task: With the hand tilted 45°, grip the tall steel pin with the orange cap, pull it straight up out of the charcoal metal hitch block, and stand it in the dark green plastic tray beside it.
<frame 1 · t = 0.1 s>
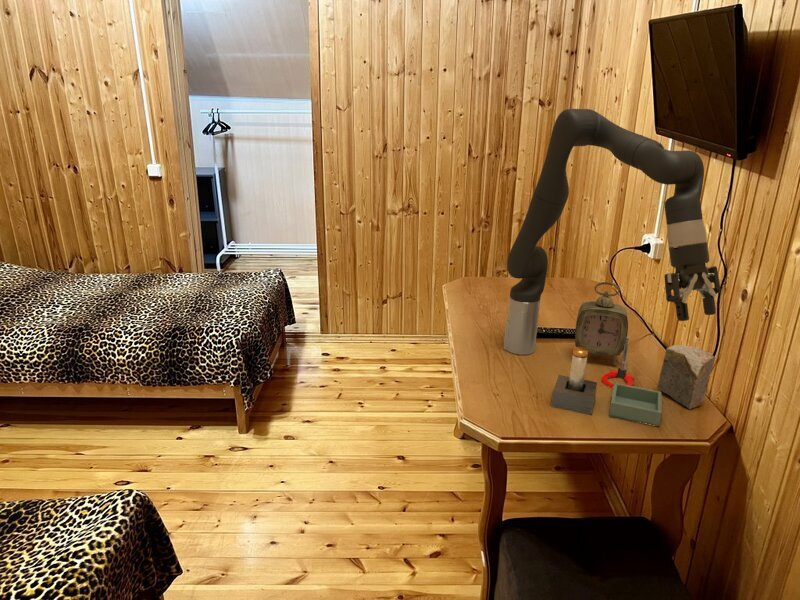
hand: (697, 317, 124), 31 cm above the table, tool tilted 20°, fingers open, 8 cm apart
geological specimen: (679, 399, 154), on the table
tray: (634, 410, 147), on the table
tow hook: (617, 383, 162), on the table
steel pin: (576, 376, 149), in the hitch block
hitch block: (573, 401, 151), on the table
tabletop clock: (596, 359, 176), on the table
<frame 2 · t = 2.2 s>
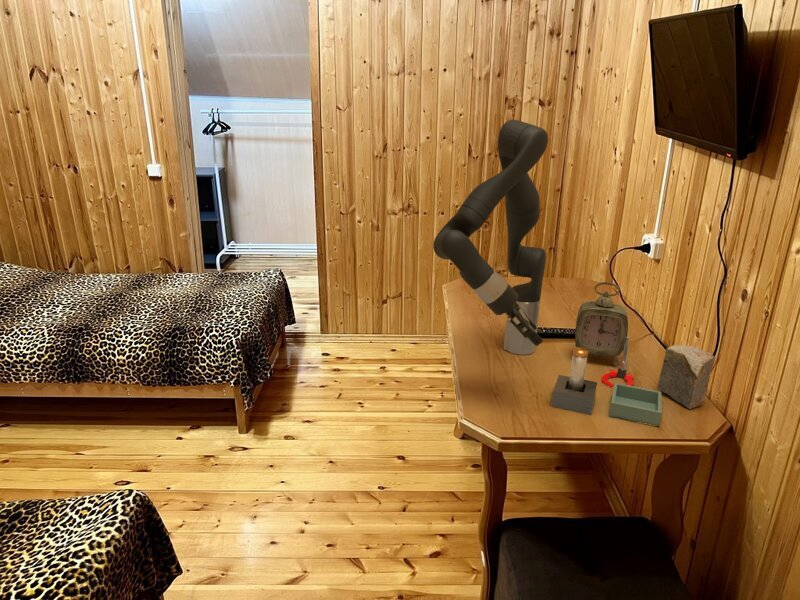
hand: (536, 336, 146), 18 cm above the table, tool tilted 45°, fingers open, 8 cm apart
nothing on the table moved.
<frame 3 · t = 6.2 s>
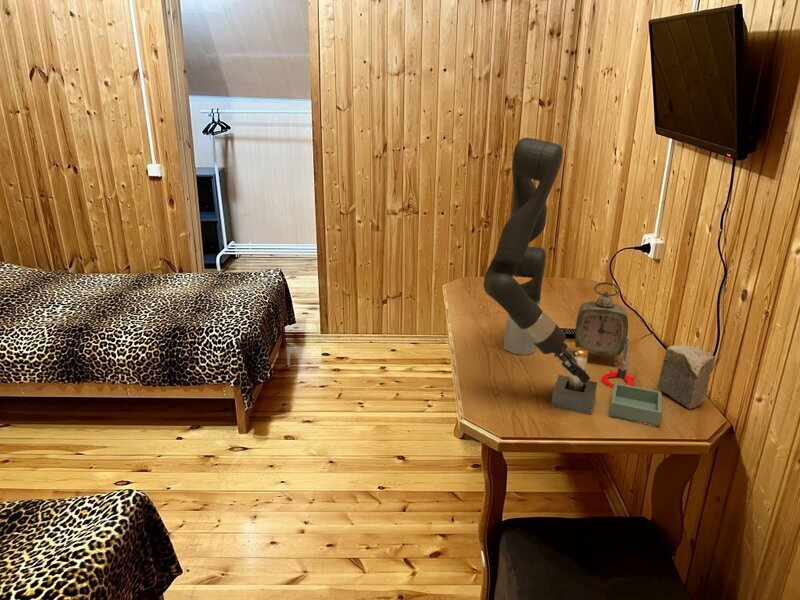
hand: (584, 376, 149), 8 cm above the table, tool tilted 45°, fingers closed on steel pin, 3 cm apart
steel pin: (577, 376, 149), in the hitch block, touching gripper
everything else where it was.
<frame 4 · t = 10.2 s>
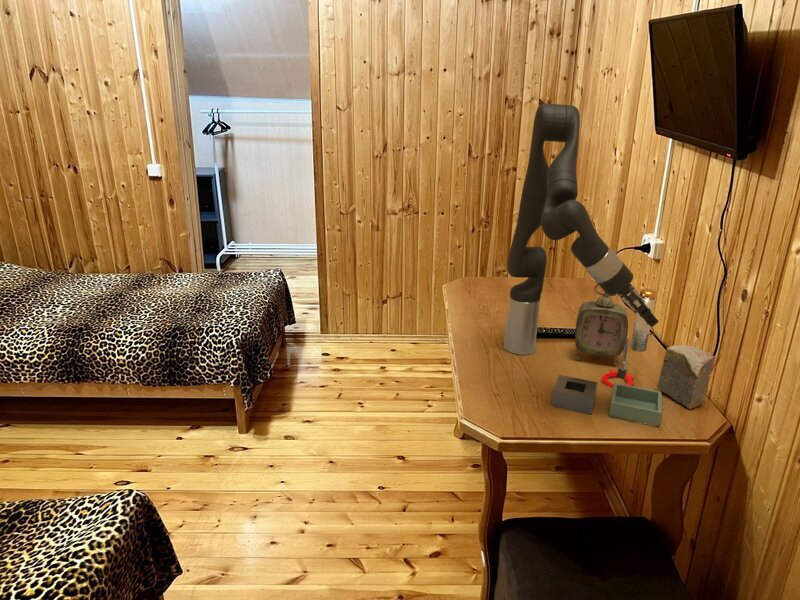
hand: (651, 320, 139), 25 cm above the table, tool tilted 45°, fingers closed on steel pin, 3 cm apart
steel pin: (643, 320, 139), point 25 cm above the table, touching gripper
everything else where it was.
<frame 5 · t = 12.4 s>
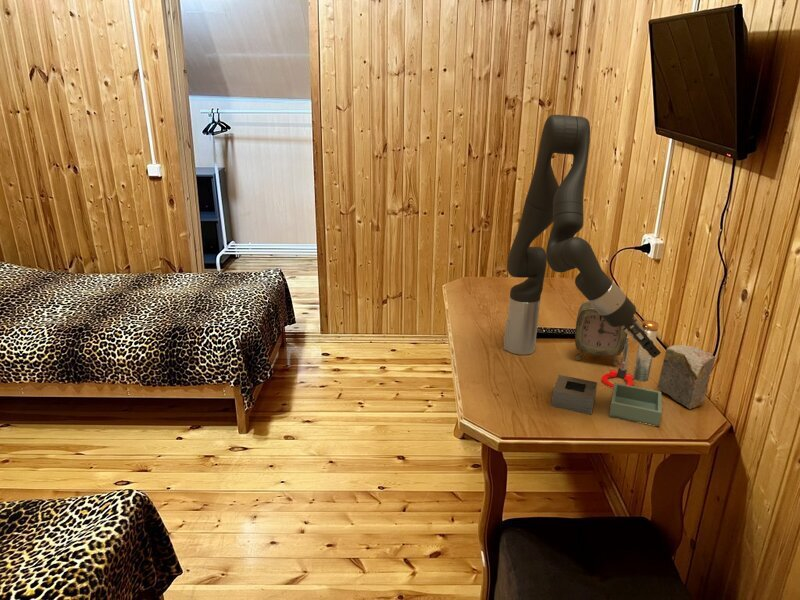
hand: (653, 351, 142), 17 cm above the table, tool tilted 45°, fingers closed on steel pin, 3 cm apart
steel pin: (645, 351, 142), point 17 cm above the table, touching gripper
everything else where it was.
when the fingers open (9 cm above the table, at t = 14.5 s): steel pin drops 1 cm, resting on tray.
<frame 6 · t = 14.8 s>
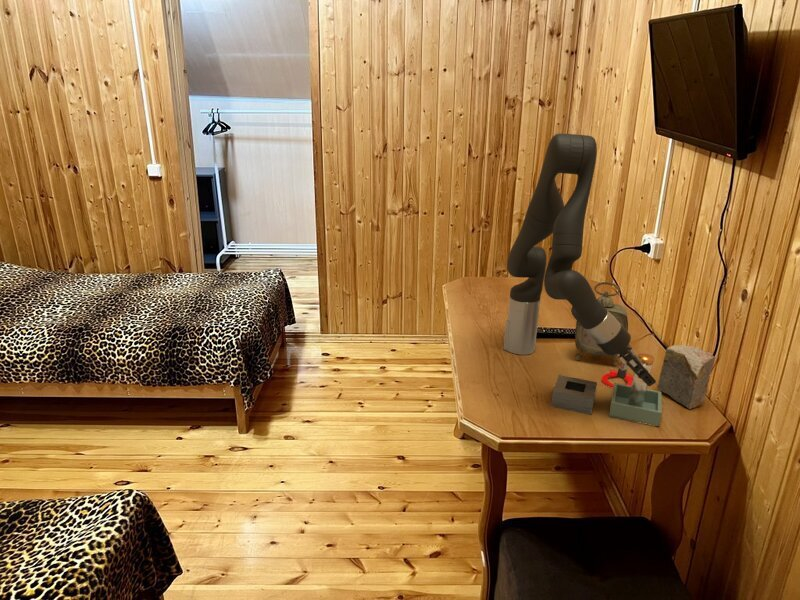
hand: (647, 376, 144), 10 cm above the table, tool tilted 45°, fingers open, 6 cm apart
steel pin: (640, 383, 144), in the tray, point 8 cm above the table
everything else where it was.
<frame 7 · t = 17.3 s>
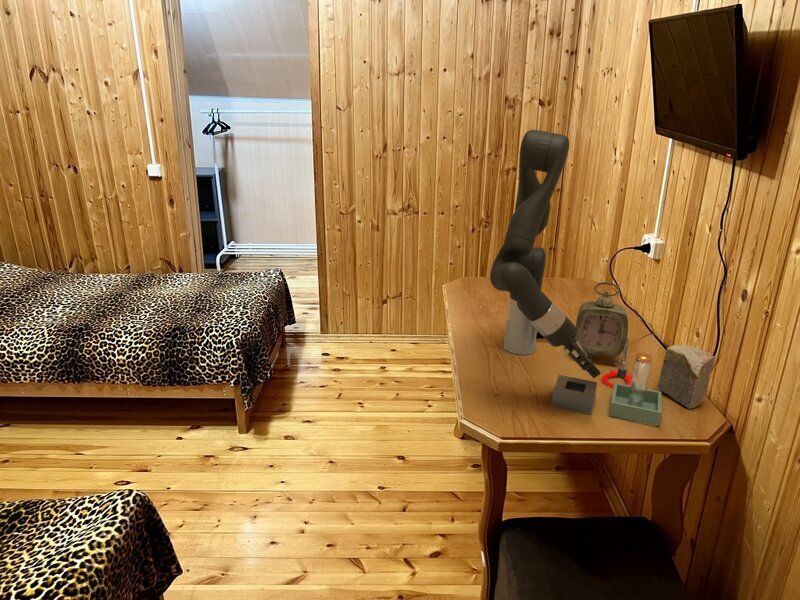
hand: (592, 367, 144), 12 cm above the table, tool tilted 45°, fingers open, 8 cm apart
nothing on the table moved.
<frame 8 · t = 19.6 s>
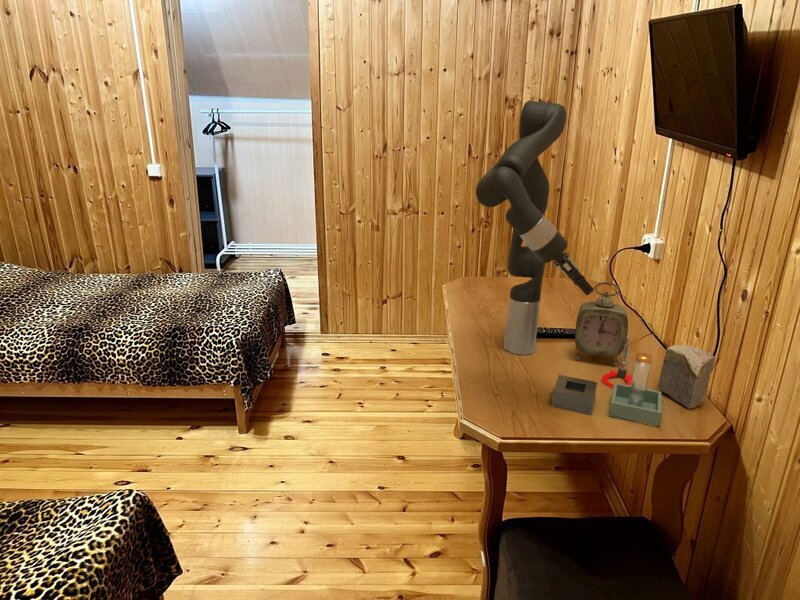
hand: (585, 286, 138), 33 cm above the table, tool tilted 45°, fingers open, 8 cm apart
nothing on the table moved.
at the end: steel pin inside the target area on the tray (0.1 cm from its centre), point 8.1 cm above the tray's base; the gripper is holding nothing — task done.
